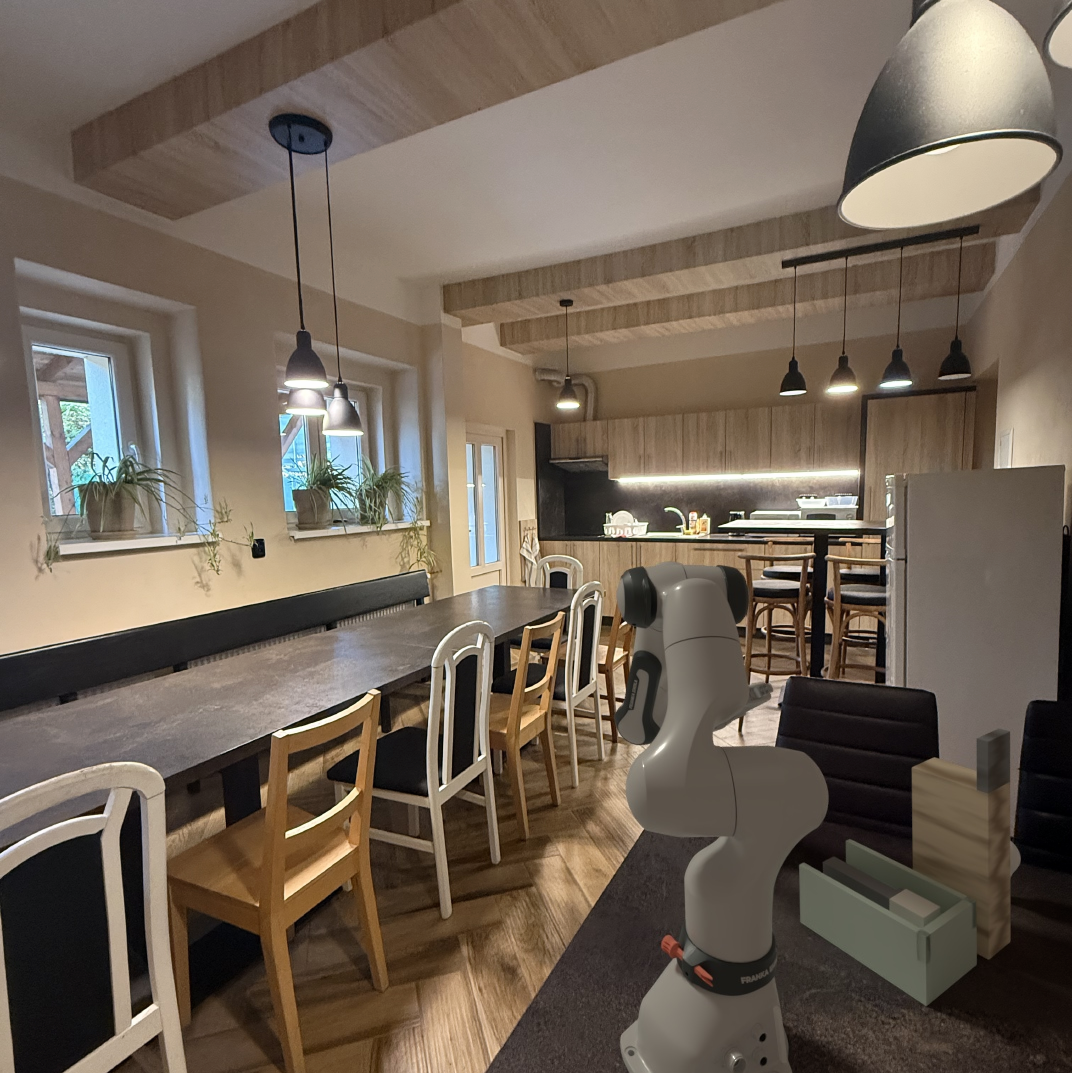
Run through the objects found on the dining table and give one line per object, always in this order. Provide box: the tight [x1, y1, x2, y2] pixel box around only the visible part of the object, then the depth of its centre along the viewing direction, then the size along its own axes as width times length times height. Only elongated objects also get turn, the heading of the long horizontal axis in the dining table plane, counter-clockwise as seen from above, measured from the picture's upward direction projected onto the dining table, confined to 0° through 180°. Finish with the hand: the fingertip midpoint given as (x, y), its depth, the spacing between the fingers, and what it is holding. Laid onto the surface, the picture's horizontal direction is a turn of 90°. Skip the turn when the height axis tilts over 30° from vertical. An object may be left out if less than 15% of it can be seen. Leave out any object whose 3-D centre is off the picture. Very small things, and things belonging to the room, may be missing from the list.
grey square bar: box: [822, 856, 940, 929], centre depth 96 cm, size 4×17×4 cm, turn 29°
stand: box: [911, 728, 1011, 961], centre depth 96 cm, size 7×11×34 cm, turn 30°
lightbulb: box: [1010, 840, 1021, 879], centre depth 104 cm, size 6×6×11 cm
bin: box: [798, 838, 978, 1007], centre depth 95 cm, size 14×20×10 cm
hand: (753, 692), depth 115 cm, fingers open, 8 cm apart
